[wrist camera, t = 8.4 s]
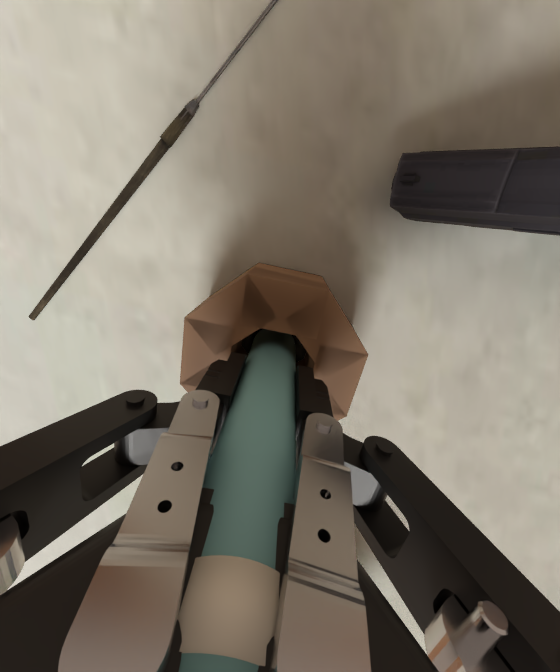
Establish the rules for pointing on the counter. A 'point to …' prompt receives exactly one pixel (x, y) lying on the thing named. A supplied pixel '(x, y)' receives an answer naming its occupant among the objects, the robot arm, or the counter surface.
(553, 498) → the counter surface
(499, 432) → the counter surface
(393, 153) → the counter surface
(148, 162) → the paintbrush
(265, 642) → the teal capped tube
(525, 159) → the handgun
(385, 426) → the counter surface
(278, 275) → the bead
